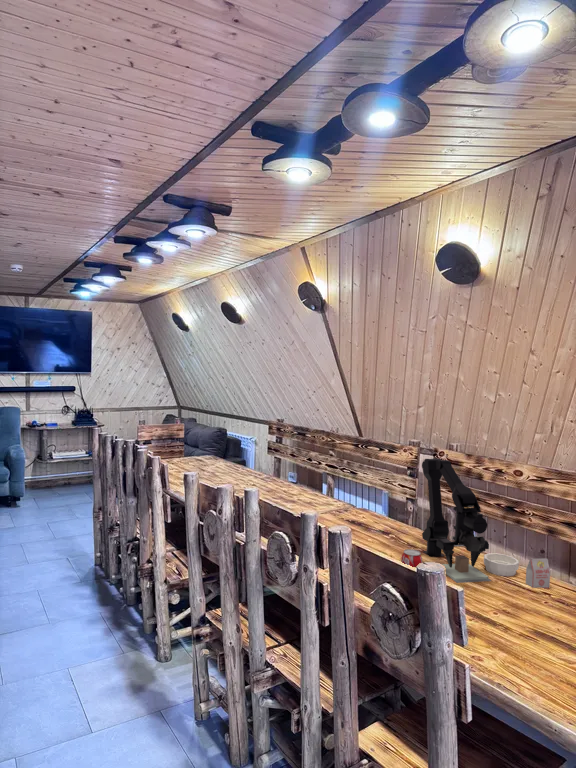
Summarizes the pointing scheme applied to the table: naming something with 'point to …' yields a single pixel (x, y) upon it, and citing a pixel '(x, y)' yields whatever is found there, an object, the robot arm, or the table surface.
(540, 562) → the white gabled carton
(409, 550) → the soda can
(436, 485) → the robot arm
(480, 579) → the mat
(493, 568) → the bowl
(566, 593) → the table surface
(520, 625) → the table surface
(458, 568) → the lid
